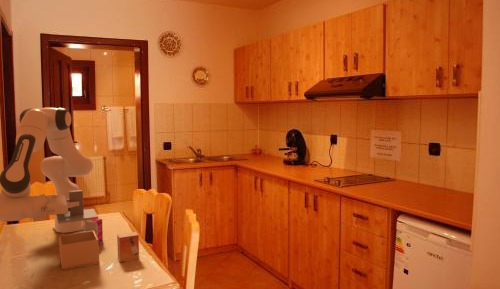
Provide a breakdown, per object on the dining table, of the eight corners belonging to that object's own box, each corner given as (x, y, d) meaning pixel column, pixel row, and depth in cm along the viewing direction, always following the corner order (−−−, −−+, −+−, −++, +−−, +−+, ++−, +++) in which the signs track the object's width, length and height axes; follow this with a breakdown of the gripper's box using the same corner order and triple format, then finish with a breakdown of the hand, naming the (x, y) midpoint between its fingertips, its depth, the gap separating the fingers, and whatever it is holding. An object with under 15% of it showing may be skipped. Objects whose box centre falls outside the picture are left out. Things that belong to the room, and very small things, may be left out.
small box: (120, 262, 166) (118, 237, 165) (117, 258, 171) (116, 234, 170) (139, 259, 170) (138, 234, 169) (136, 254, 175) (135, 231, 174)
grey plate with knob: (56, 214, 170) (55, 189, 169) (93, 210, 177) (92, 186, 176) (58, 223, 157) (56, 196, 156) (98, 218, 164) (97, 192, 163)
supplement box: (96, 246, 186) (95, 221, 185) (85, 245, 188) (83, 221, 187) (103, 241, 192) (102, 218, 191) (92, 241, 193) (91, 217, 192)
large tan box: (60, 258, 172) (58, 235, 171) (94, 252, 178) (93, 230, 177) (62, 269, 159) (60, 245, 158) (99, 263, 166) (98, 239, 165)
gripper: (41, 204, 151) (80, 199, 157) (40, 193, 169) (76, 190, 175) (42, 220, 152) (81, 215, 158) (41, 208, 170) (76, 204, 176)
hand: (78, 202), depth 167 cm, fingers closed on grey plate with knob, 2 cm apart
